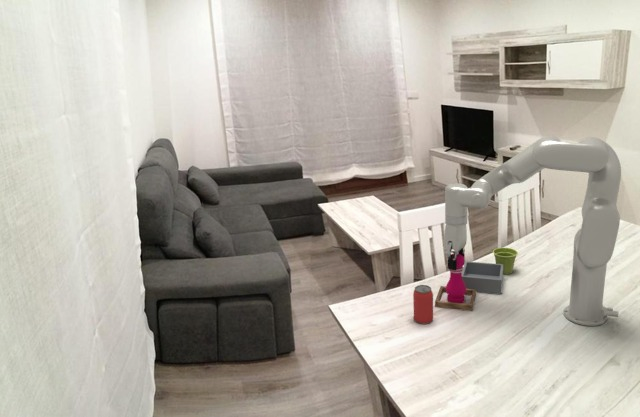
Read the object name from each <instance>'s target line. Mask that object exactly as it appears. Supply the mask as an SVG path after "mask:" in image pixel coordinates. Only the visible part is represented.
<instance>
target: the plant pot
mask: <svg viewBox="0 0 640 417" xmlns="http://www.w3.org/2000/svg"><path fill="white" fill-rule="evenodd" d="M492 254H493V255H494V260H495V264H503V275H510V274H511V273H513V271H514V265H515V261H516V258H517V256H518V254H519V253H518V251H517V250H516V249H514V248H511V247H497V248H495V249H493V250H492Z"/></svg>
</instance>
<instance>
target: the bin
mask: <svg viewBox="0 0 640 417" xmlns="http://www.w3.org/2000/svg"><path fill="white" fill-rule="evenodd" d="M462 279H463V282H464V284H465V286H466V289H475V290H476V293H484V294H485V293H486V294H493V295H502V290H503V281H504V280H503V279H504V274H503V264H496V263H493V262H491V263H490V262H479V261H468V260H465V263H464V265H463V272H462Z"/></svg>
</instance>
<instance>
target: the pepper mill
mask: <svg viewBox="0 0 640 417" xmlns="http://www.w3.org/2000/svg"><path fill="white" fill-rule="evenodd" d="M458 253H459V252H457V254H456V260H457V270H450V269H448V271H449V273H450V274H449V275H450V277H449V280H448V282H447V283H446V292H445V293H446V294H447V295H446V300H447V301H446V302H453V303H462V304H465V303H464V302H465V301H466V300H465V299H466V297H465V293H466V286H465V284H464V282H463V279H462V272H463V267H464V264H465V261H466V260H465V256H464V257H463V256H462V255H460V254H458ZM451 254H452V255H453V256H454V253H451ZM446 260H447V262H446V263H448V259H446Z"/></svg>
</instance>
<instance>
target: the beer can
mask: <svg viewBox="0 0 640 417" xmlns="http://www.w3.org/2000/svg"><path fill="white" fill-rule="evenodd" d="M412 294H413V295H412V298H413V299H412V300H413V301H412V302H413V304H412V305H413V320H414V321H415V322H416V323H418V324H422V325H423V324H424V325H425V324H426V325H427V324H430V323H431V322H433V320H434V293H433V290H432V287H431V286H429V285H427V284H419V285H417V286H415V287H414V291H413V293H412Z"/></svg>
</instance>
